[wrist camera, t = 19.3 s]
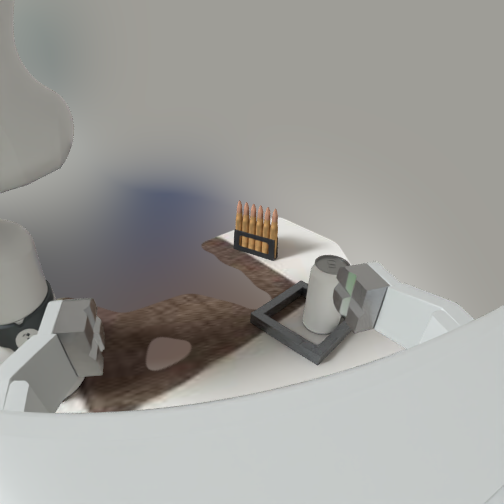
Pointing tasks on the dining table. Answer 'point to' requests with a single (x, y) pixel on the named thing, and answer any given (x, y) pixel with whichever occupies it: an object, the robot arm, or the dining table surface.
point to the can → (323, 295)
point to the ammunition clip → (256, 232)
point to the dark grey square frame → (291, 338)
